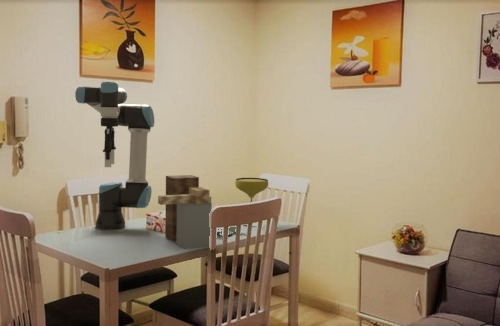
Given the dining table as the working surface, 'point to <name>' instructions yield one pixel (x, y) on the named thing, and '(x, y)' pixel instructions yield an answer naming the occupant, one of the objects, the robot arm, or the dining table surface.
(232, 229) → the l-shaped corner panel
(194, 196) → the ash mallet
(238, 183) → the cocktail glass
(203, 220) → the grey rectangular block
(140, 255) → the dining table surface
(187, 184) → the tall walnut stand
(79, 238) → the dining table surface
